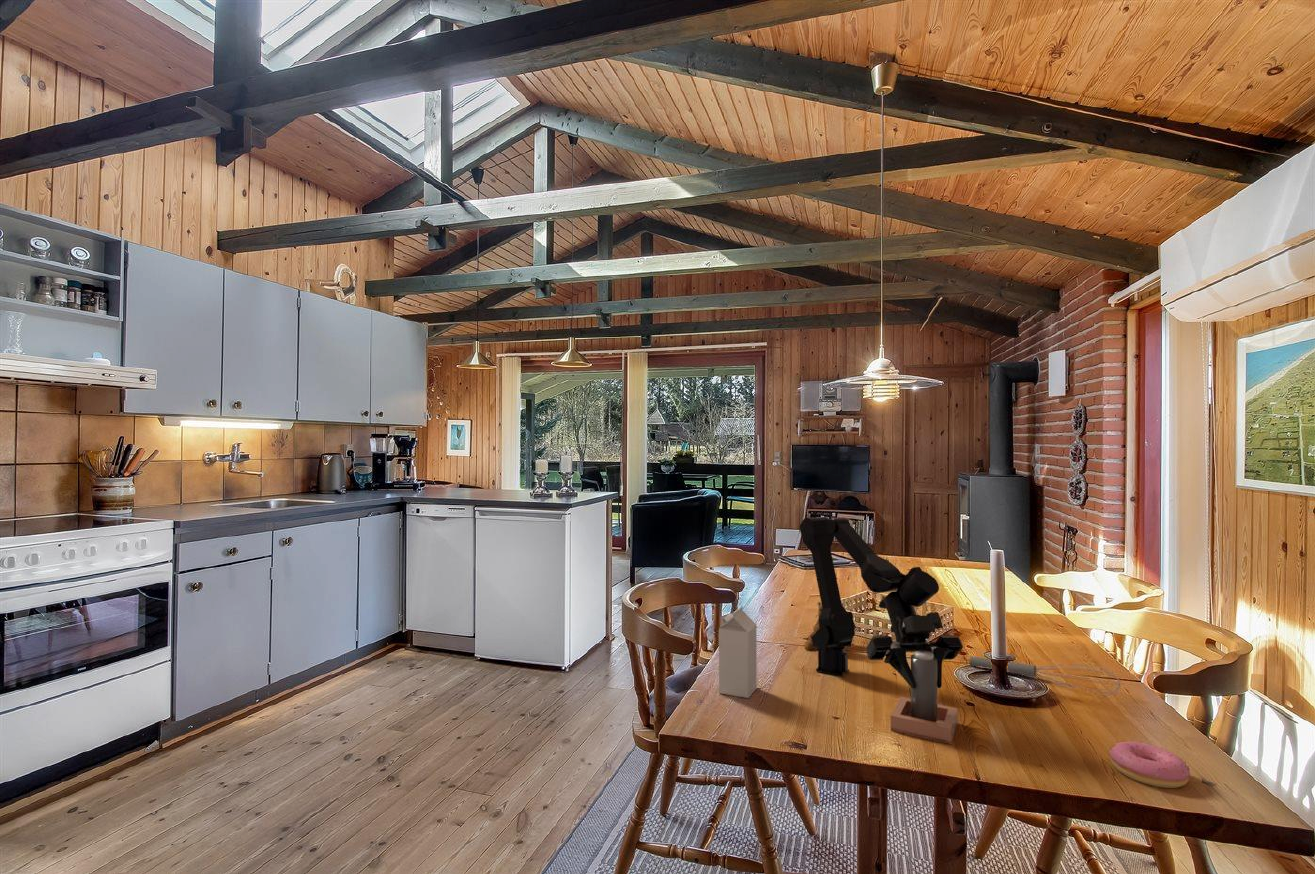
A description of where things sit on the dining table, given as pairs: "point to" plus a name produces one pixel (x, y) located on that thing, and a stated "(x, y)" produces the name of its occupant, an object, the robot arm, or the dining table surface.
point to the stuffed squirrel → (816, 627)
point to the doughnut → (1149, 764)
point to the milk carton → (738, 655)
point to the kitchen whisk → (1031, 671)
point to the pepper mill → (924, 686)
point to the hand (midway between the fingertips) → (927, 687)
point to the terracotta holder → (924, 722)
